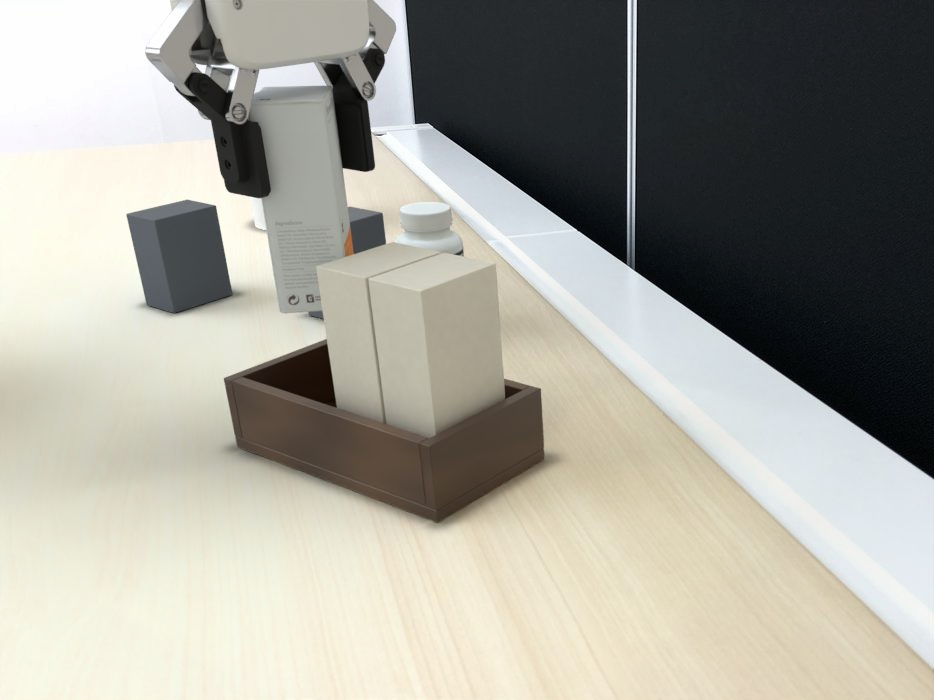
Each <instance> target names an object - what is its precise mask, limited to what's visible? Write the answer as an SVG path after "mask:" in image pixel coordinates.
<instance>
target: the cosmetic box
mask: <svg viewBox="0 0 934 700" xmlns="http://www.w3.org/2000/svg"><path fill="white" fill-rule="evenodd" d="M248 120H249V121H253V122H258V123H259V126H260V127H261V131H262V138H263V144H264V150H265V156H266V162H267V168H268V174H269V181H270V187H271V192H270V193H269V196H267V197H263V198H261V199H262V205H263V211H264V217H265V224H266V230H265V231H266V237H267V243H268V249H269V255H270V261H271V262H270V263H271V268H272V273H273V278H274V286H275V292H276V297H277V305H278V311H279V312H280V313H281V314H296V313H298V314H299V313H309V312H313V311H323V310H322V304H321V297H320V290H319V283H318V277H317V270H316V266H319V265H322V264H325V263H328V262H331V261H334V260H338V259H341V258H344V257H347V256H350V255H353V254H354V253H353V245H352V237H351V229H350V222H349V214H348V207H349V206H348V199H347V192H346V186H345V185H346V184H345V176H344V168H343V167H342V159H341V152H340V144H339V136H338V129H337V121H336V113H335V106H334V99H333V91H332V87H331V86H327V85H293V86H264V87H261V89H260V90H259V91H257V92H254V96H253V100H252V104H251V108H250V113H249V117H248Z"/></svg>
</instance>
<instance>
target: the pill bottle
mask: <svg viewBox="0 0 934 700" xmlns="http://www.w3.org/2000/svg"><path fill="white" fill-rule="evenodd" d="M399 221H400V222H399V223H400V227H401V229H403V230H404V232H402V233H401V234H399V235H398V236H397V237H396V239H395V241H394V242H395V243H400V244H405V245H410V246H415V247H419V248H424V249H429V250H434V251H439V252H441V254H442V253H449V254H453V255H458V256H463V257H465V254H464V253H465V251H464V243H463V242H464V241H463V239H462V237H461V235H460V234H459V233H458V232H456V231H454V230H452V229H451V226H452V225H453V213H452V207H451V205H450V204H448V203H446V202H439V201H419V202H414V203H408V204H405V205H403V206H401V207H400V208H399Z"/></svg>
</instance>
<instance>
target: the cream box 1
mask: <svg viewBox="0 0 934 700" xmlns="http://www.w3.org/2000/svg"><path fill="white" fill-rule="evenodd" d="M439 254H441V252H439V251H434V250H429V249H424V248H419V247H415V246H410V245H405V244H400V243H395V241H391V242H389V243H386V244H385V245H382V246H379V247H375V248H372V249H369V250H366V251H363V252H360V253H356V254H353V255H350V256H347V257H344V258H341V259H338V260H334V261H331V262H328V263H325V264H322V265H319V266H316V270H317V277H318V283H319V290H320V297H321V304H322V310H323V317H324V319H323V323H324V329H325V338H326V339H327V344H328V351H329V357H330V364H331V371H332V378H333V384H334V391H335V398H336V405H337V408H339V409H342V410H345V411H348V412H351V413H354V414H357V415H360V416H363V417H366V418H369V419H372V420H375V421H378V422H382V423H385V424H387V423H386V415H385V407H384V400H383V392H382V384H381V376H380V368H379V360H378V352H377V344H376V336H375V328H374V321H373V313H372V305H371V297H370V289H369V281H368V279H369V278H371V277H374V276H377V275H380V274H383V273H386V272H389V271H392V270H395V269H398V268H401V267H404V266H407V265H409V264H412V263H415V262H418V261H421V260H424V259H427V258H430V257H433V256H436V255H439Z"/></svg>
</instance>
